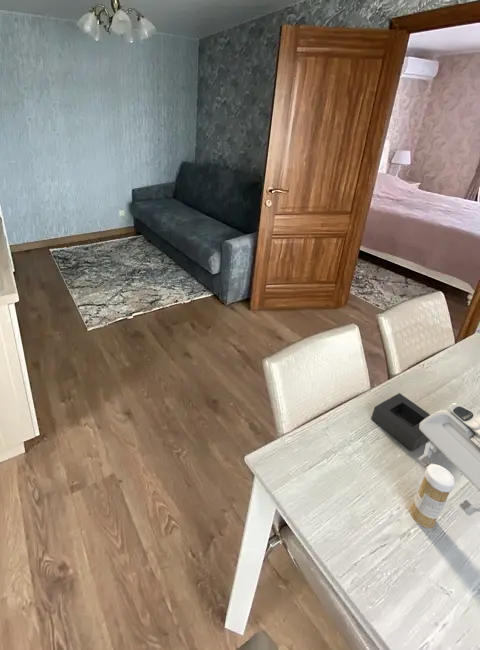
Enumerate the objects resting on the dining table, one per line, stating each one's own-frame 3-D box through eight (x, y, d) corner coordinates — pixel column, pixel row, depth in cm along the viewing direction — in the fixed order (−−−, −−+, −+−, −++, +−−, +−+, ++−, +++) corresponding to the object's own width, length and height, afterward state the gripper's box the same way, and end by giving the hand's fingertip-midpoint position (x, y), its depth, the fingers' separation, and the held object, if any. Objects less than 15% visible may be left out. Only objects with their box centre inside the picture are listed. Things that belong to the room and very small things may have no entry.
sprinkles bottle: (412, 500, 75) (430, 458, 70) (437, 517, 72) (458, 474, 67) (406, 516, 72) (424, 473, 67) (432, 534, 69) (453, 491, 64)
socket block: (395, 404, 100) (399, 392, 98) (436, 434, 91) (441, 422, 89) (370, 419, 95) (374, 406, 93) (411, 452, 86) (416, 439, 84)
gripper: (567, 504, 59) (500, 550, 61) (456, 408, 78) (408, 446, 80) (558, 492, 57) (488, 540, 58) (446, 396, 75) (396, 435, 77)
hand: (441, 485), depth 69 cm, fingers open, 8 cm apart
